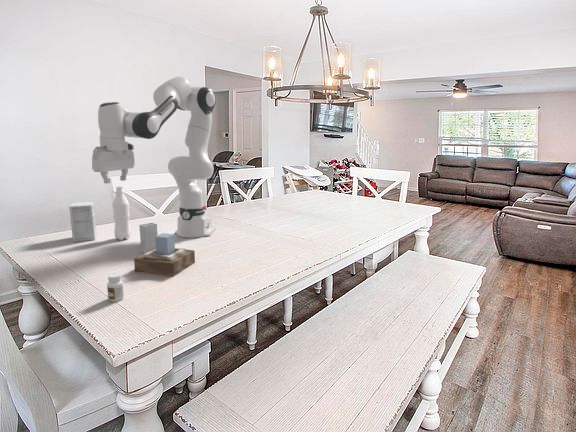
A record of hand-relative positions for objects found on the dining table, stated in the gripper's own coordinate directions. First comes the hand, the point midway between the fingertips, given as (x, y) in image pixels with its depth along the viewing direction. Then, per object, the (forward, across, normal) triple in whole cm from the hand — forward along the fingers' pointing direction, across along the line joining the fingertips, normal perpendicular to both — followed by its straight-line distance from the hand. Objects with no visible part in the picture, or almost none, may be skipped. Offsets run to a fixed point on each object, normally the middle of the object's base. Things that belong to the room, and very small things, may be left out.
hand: (115, 181), depth 149 cm
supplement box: (+31, +19, +34) cm, 50 cm away
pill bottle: (+31, -34, -24) cm, 52 cm away
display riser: (+31, -4, -23) cm, 39 cm away
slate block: (+26, -4, -23) cm, 35 cm away
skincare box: (+31, +11, -6) cm, 34 cm away
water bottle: (+31, +24, +17) cm, 43 cm away
